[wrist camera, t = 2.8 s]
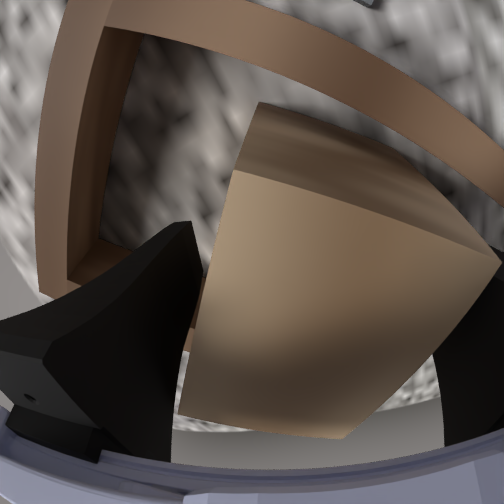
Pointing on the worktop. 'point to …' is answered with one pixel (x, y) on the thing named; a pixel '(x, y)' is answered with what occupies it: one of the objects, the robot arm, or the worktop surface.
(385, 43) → the worktop surface
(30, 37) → the worktop surface
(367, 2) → the mat
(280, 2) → the worktop surface
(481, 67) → the worktop surface
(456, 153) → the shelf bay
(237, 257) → the gripped blank
